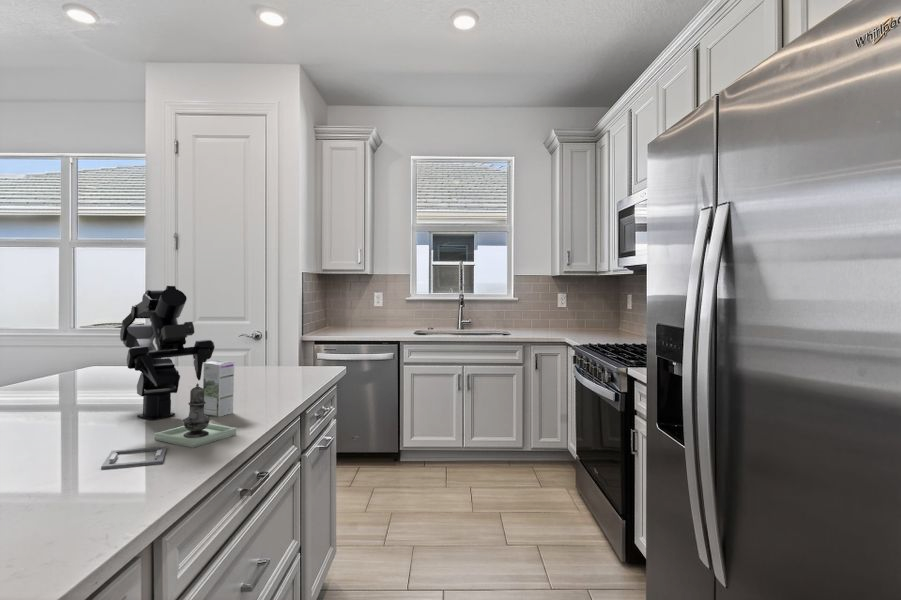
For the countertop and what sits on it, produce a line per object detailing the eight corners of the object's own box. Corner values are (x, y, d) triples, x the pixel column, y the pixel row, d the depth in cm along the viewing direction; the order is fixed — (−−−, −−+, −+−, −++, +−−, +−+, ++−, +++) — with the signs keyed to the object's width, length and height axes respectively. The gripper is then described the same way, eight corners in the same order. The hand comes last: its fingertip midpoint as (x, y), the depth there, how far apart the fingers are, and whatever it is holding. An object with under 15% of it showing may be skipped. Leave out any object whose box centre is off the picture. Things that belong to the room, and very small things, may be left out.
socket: (111, 453, 103) (111, 449, 103) (167, 448, 107) (167, 444, 107) (101, 469, 94) (101, 464, 94) (162, 463, 98) (162, 459, 98)
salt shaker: (206, 438, 114) (207, 385, 114) (178, 438, 113) (179, 385, 113) (213, 430, 120) (214, 380, 120) (186, 431, 119) (187, 381, 118)
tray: (154, 439, 113) (154, 433, 113) (199, 427, 124) (199, 421, 124) (193, 447, 108) (193, 440, 108) (236, 434, 119) (236, 428, 119)
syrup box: (234, 413, 140) (235, 361, 140) (217, 417, 134) (219, 363, 134) (217, 410, 142) (219, 359, 141) (201, 415, 136) (202, 362, 136)
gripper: (127, 314, 117) (138, 370, 110) (211, 309, 129) (226, 359, 123) (122, 341, 124) (132, 395, 117) (203, 333, 136) (216, 382, 129)
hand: (179, 382), depth 121 cm, fingers open, 9 cm apart
